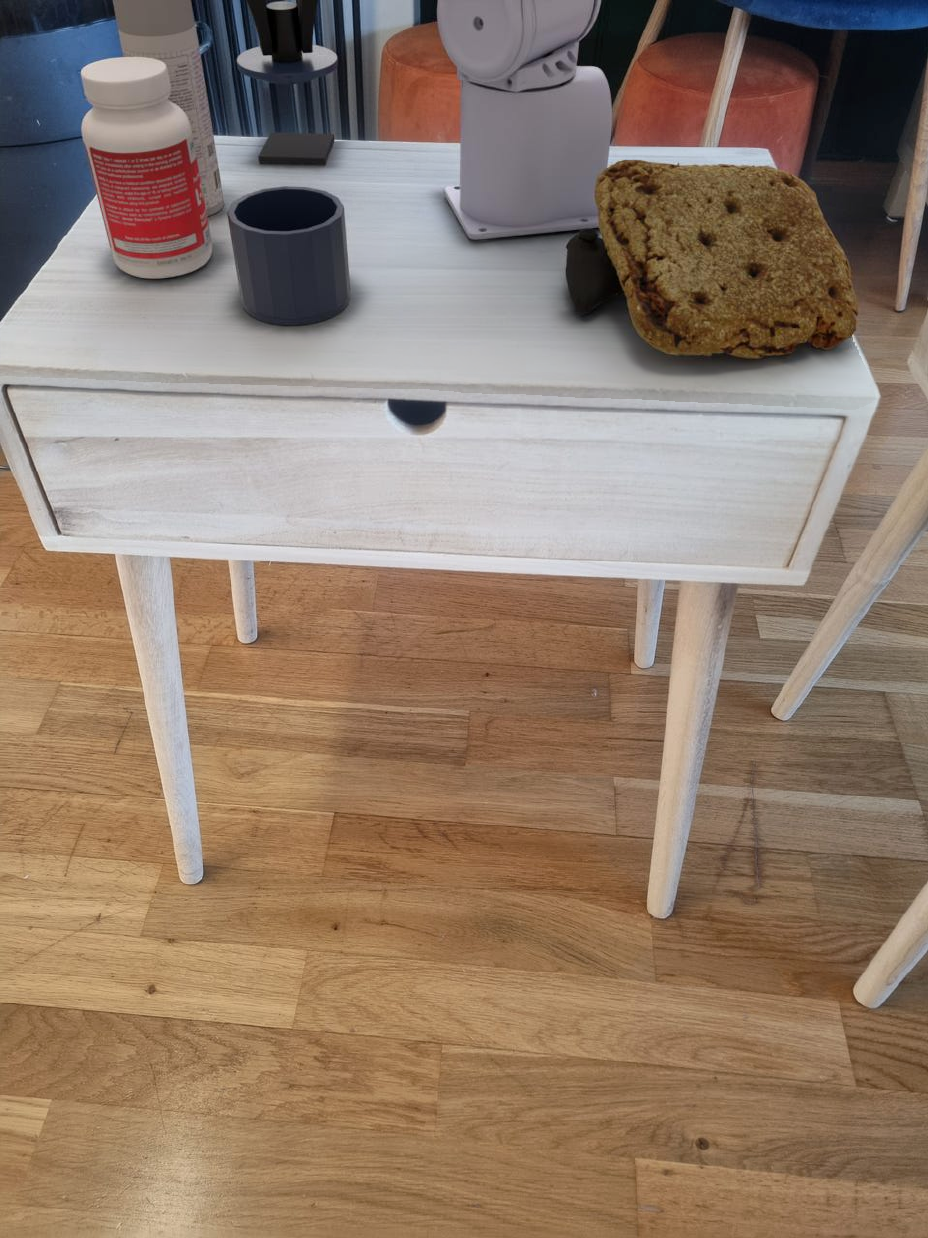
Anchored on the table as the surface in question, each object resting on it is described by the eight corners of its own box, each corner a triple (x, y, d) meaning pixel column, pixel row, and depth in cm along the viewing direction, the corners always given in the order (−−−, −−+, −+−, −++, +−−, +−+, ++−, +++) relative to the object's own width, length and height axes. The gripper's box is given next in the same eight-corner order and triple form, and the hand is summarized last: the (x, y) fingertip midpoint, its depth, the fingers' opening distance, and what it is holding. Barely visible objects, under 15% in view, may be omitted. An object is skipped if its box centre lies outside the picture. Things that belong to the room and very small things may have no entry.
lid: (344, 60, 74) (340, -8, 71) (331, 92, 69) (325, 21, 66) (249, 57, 74) (241, -10, 71) (229, 89, 69) (218, 18, 66)
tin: (356, 275, 61) (349, 187, 58) (342, 327, 57) (334, 235, 53) (254, 272, 62) (241, 184, 58) (232, 323, 57) (216, 231, 53)
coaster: (334, 140, 77) (334, 133, 77) (325, 165, 74) (324, 158, 73) (271, 138, 77) (270, 131, 77) (259, 163, 74) (258, 156, 74)
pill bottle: (229, 266, 62) (197, 73, 54) (135, 291, 60) (87, 93, 52) (191, 230, 66) (155, 44, 58) (101, 252, 63) (51, 61, 55)
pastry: (896, 272, 60) (926, 235, 58) (772, 443, 53) (800, 410, 50) (667, 115, 62) (686, 72, 59) (514, 259, 54) (528, 217, 52)
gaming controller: (577, 314, 57) (570, 222, 56) (554, 322, 61) (547, 237, 60) (720, 299, 58) (716, 209, 57) (687, 308, 63) (682, 225, 62)
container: (185, 186, 71) (139, -64, 60) (238, 200, 69) (199, -55, 58) (141, 210, 68) (83, -49, 57) (194, 225, 66) (145, -38, 56)
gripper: (366, -205, 65) (376, 27, 75) (139, -202, 62) (180, 39, 72) (386, -191, 60) (394, 56, 70) (141, -187, 58) (185, 69, 67)
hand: (286, 50), depth 71 cm, fingers closed on lid, 2 cm apart
